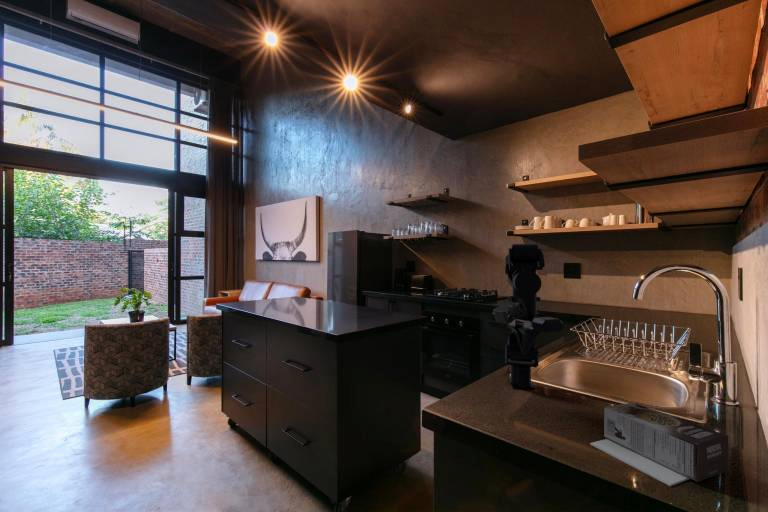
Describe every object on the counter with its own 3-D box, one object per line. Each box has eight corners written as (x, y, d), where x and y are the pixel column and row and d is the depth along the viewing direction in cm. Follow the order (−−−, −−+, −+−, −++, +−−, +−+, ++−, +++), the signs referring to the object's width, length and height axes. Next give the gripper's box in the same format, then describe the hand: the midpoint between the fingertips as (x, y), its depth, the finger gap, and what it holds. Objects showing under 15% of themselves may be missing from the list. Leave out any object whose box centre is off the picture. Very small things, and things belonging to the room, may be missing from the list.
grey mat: (590, 444, 69) (590, 443, 69) (636, 432, 75) (636, 431, 75) (670, 486, 56) (670, 484, 56) (719, 468, 62) (719, 466, 62)
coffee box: (632, 400, 75) (729, 434, 60) (632, 431, 75) (730, 472, 60) (603, 406, 72) (698, 443, 57) (603, 438, 71) (699, 484, 56)
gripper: (475, 290, 95) (475, 348, 95) (527, 296, 78) (527, 367, 77) (508, 289, 99) (508, 345, 99) (564, 295, 82) (564, 362, 81)
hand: (524, 353), depth 89 cm, fingers closed
